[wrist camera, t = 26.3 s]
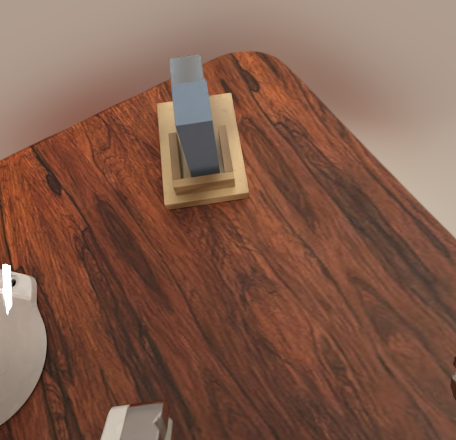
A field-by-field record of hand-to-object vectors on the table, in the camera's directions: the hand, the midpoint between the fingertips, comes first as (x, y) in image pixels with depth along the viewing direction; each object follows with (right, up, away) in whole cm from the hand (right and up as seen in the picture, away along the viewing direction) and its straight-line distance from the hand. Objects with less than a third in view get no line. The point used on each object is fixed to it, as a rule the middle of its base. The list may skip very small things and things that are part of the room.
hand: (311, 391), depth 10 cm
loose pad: (-5, +12, +33) cm, 35 cm away
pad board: (-6, +14, +35) cm, 38 cm away
